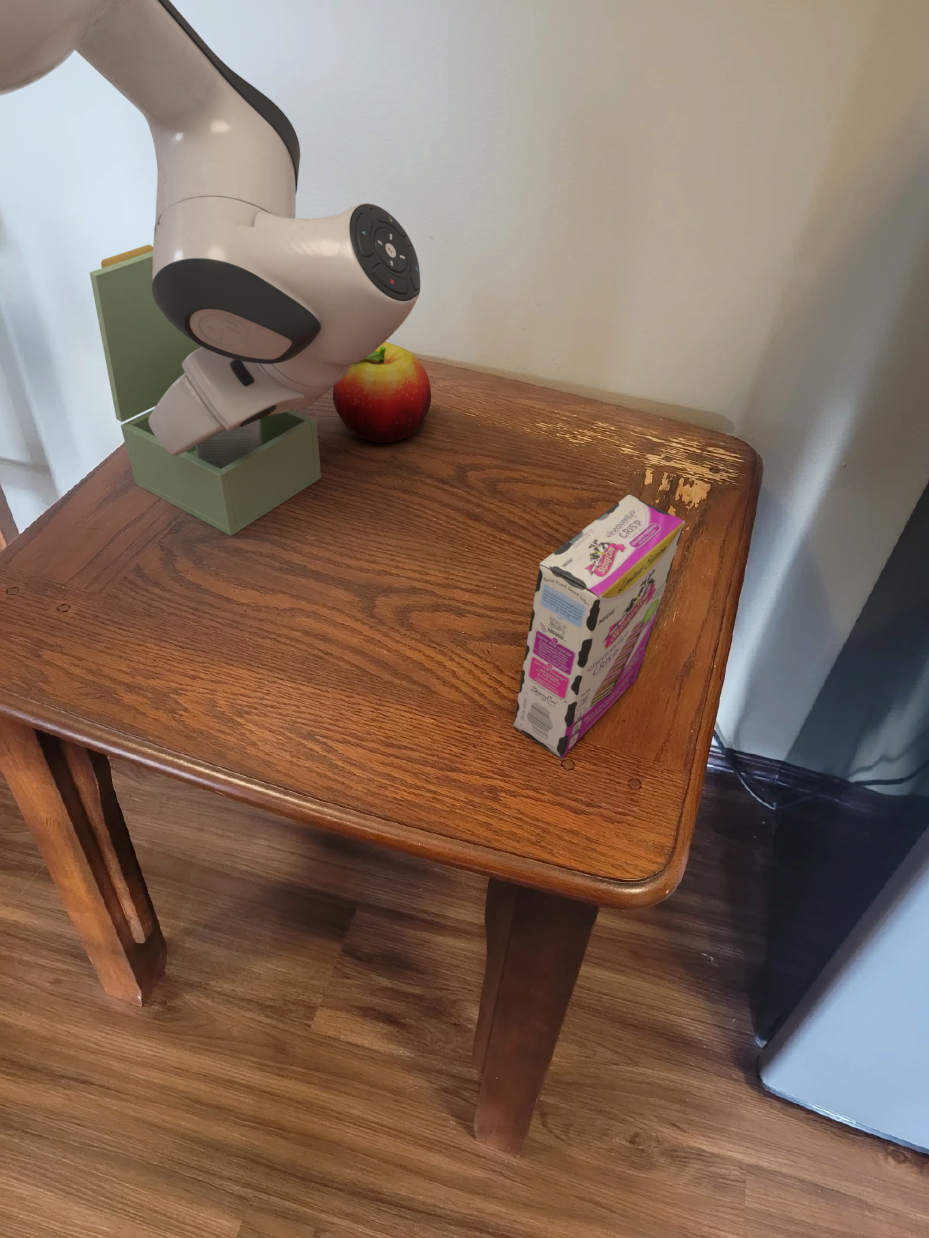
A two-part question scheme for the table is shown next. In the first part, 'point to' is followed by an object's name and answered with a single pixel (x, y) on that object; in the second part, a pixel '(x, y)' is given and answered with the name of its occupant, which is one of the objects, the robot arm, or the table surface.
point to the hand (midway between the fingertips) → (222, 418)
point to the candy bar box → (593, 621)
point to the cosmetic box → (231, 444)
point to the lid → (136, 333)
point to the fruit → (384, 395)
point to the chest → (228, 471)
